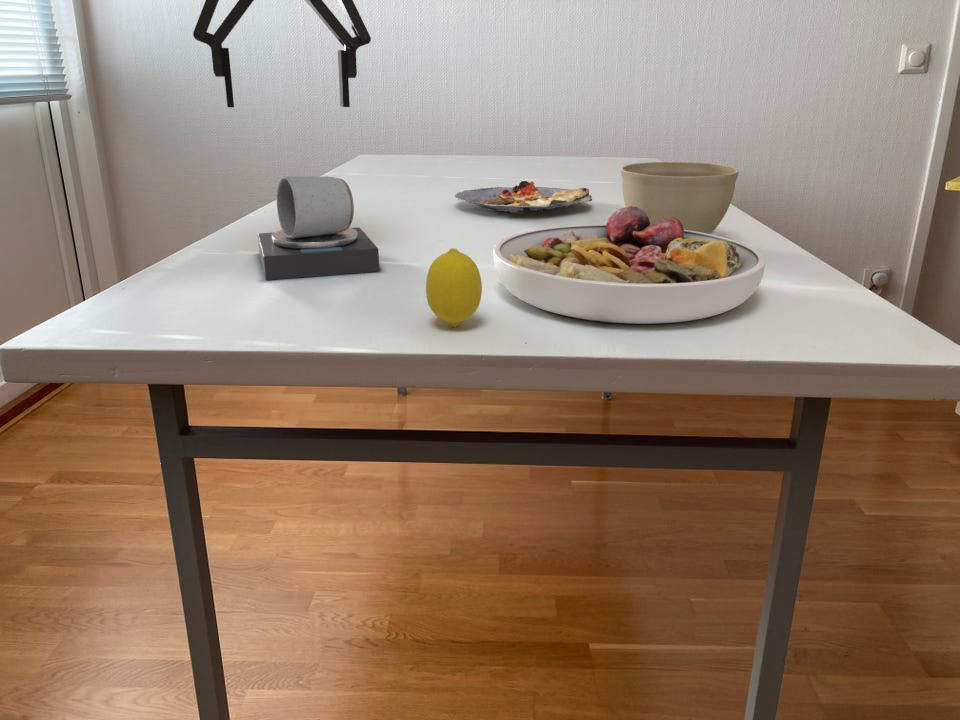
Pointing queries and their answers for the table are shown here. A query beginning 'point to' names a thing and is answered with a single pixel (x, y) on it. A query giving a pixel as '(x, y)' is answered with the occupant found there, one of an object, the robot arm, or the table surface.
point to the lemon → (453, 287)
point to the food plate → (524, 197)
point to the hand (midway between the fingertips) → (289, 107)
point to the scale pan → (315, 240)
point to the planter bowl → (681, 191)
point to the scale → (317, 258)
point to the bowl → (628, 270)
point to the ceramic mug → (314, 206)
